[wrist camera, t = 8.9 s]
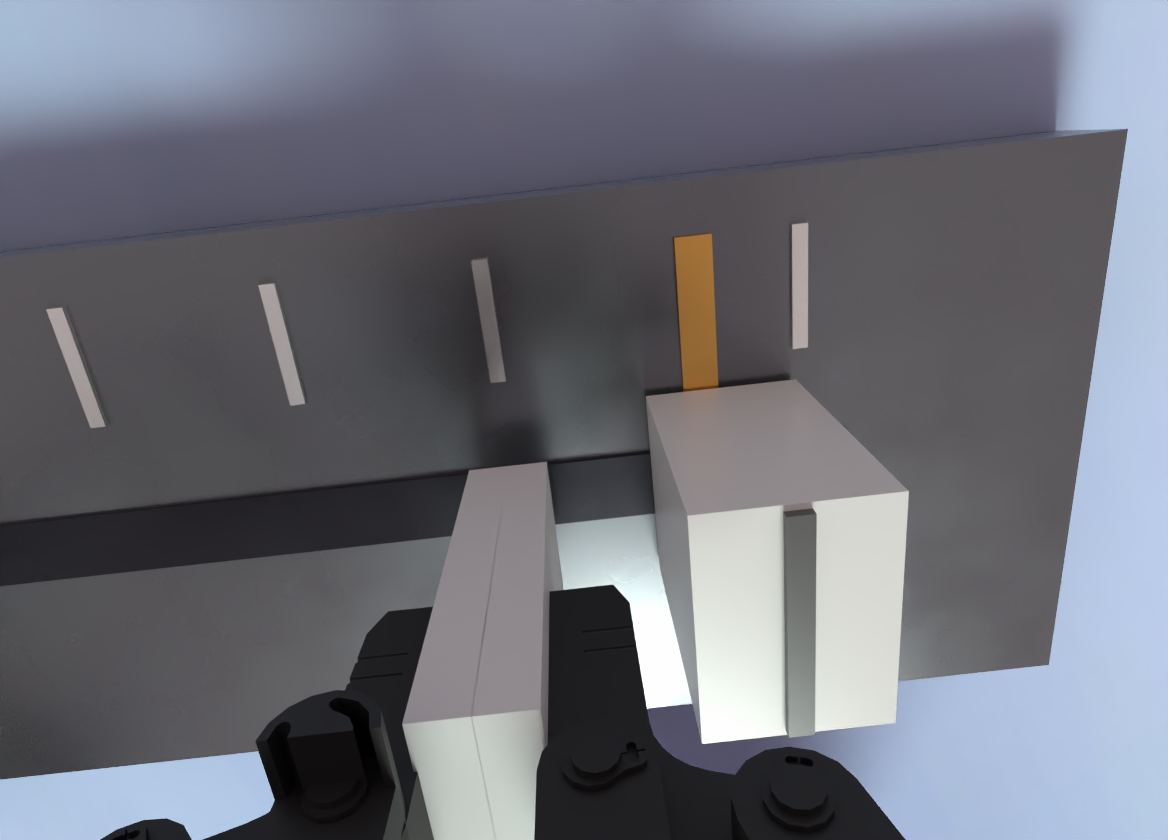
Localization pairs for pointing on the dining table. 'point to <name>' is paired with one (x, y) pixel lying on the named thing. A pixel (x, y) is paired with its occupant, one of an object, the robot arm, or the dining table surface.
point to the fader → (777, 561)
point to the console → (517, 416)
